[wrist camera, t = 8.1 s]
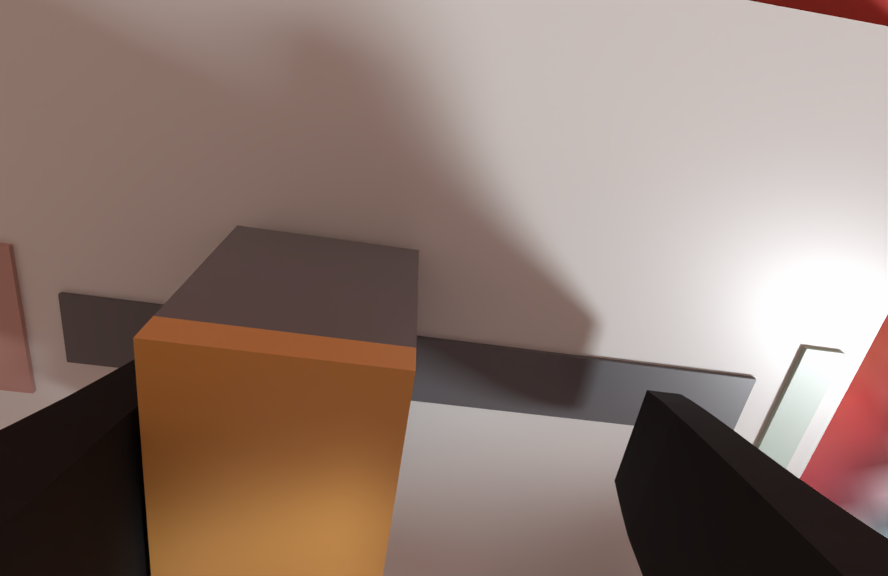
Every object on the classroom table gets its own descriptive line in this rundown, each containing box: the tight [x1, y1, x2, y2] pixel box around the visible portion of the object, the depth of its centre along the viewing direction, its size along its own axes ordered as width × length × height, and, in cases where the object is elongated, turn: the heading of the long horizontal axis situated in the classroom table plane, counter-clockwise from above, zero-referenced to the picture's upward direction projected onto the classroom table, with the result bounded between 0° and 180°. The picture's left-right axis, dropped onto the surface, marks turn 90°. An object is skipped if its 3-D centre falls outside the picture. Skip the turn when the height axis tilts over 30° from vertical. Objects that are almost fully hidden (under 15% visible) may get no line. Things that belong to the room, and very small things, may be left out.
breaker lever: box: [133, 225, 419, 576], centre depth 9 cm, size 3×5×4 cm, turn 171°
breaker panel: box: [0, 0, 888, 576], centre depth 12 cm, size 17×22×6 cm
